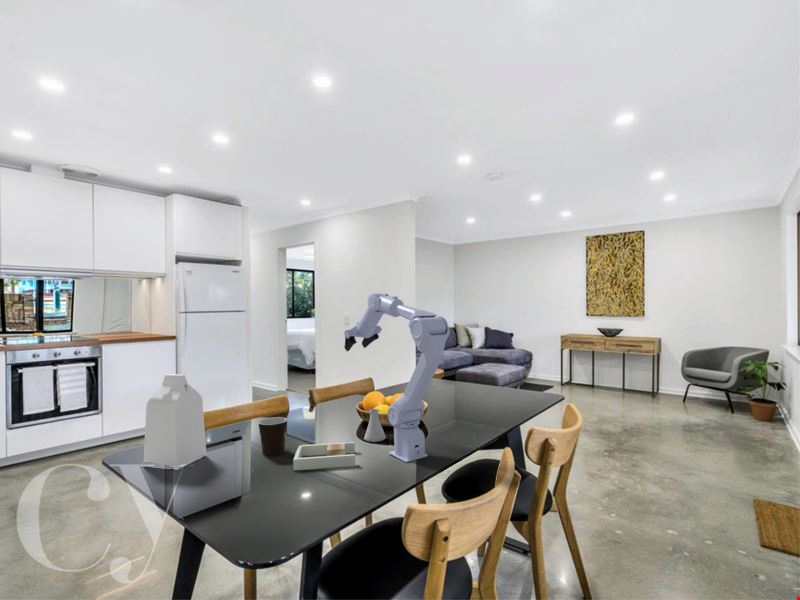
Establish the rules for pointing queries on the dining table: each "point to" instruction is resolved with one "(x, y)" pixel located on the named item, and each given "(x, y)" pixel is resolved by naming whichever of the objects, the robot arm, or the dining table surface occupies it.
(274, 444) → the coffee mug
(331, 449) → the oak block
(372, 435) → the flask
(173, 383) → the milk
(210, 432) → the dining table surface
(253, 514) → the dining table surface
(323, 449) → the white tray
